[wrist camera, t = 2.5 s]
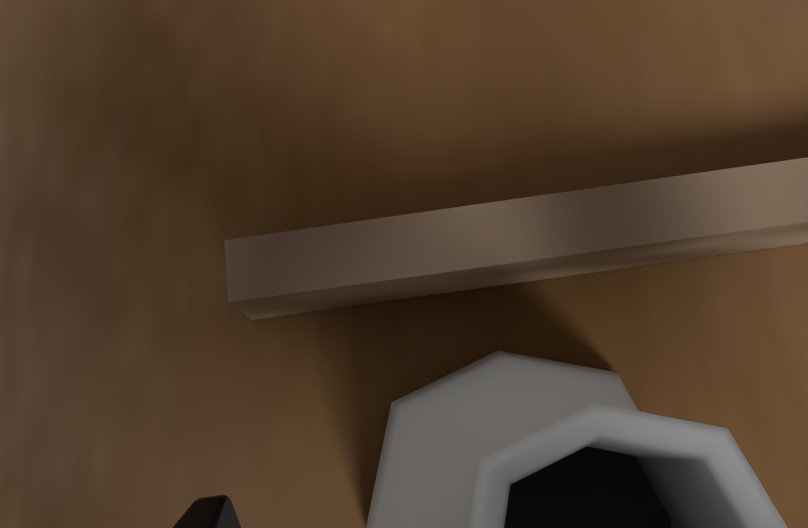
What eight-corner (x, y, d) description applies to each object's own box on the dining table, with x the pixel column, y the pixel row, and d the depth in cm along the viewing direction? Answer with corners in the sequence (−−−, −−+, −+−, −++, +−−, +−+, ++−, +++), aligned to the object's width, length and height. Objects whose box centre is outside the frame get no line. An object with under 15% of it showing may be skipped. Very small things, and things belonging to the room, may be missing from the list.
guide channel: (949, 165, 17) (1011, 128, 15) (1185, 787, 14) (1306, 842, 12) (248, 263, 18) (224, 239, 16) (289, 888, 14) (262, 957, 12)
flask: (385, 701, 15) (268, 1135, 5) (351, 370, 17) (222, 256, 7) (718, 661, 15) (1217, 1039, 5) (644, 332, 17) (901, 161, 7)
